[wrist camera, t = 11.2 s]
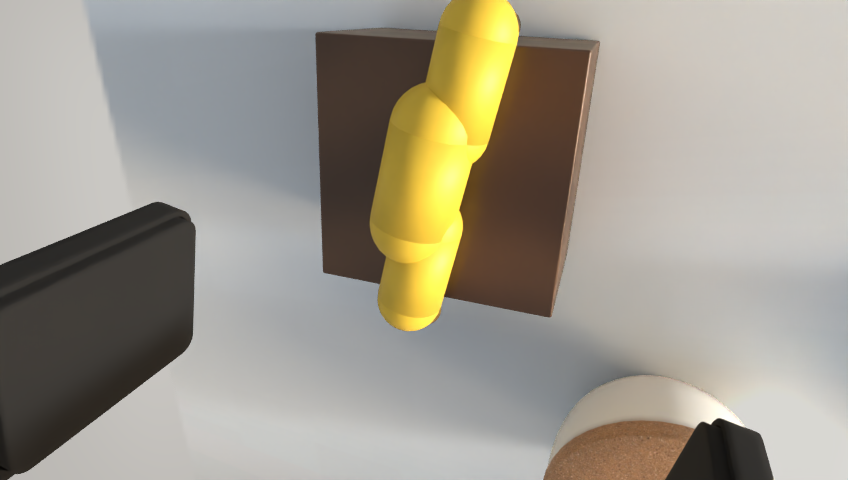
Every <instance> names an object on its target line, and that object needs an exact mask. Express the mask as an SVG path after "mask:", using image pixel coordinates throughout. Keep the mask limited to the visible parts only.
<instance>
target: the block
mask: <svg viewBox="0 0 848 480" xmlns="http://www.w3.org/2000/svg"><path fill="white" fill-rule="evenodd" d="M436 34H437V31H428V30H412V29H396V28H369V29H355V30H341V31H326V32H317V33H316V66H317V97H318V128H319V159H320V190H321V221H322V252H323V272H324V273H328V274H333V275H338V276H343V277H348V278H353V279H358V280H363V281H368V282H373V283H378V284H380V282H381V278H382V273H383V269H384V264H385V260H386V256H385V255H384V254H383V253H382V252H381V251H380V250H379V249H378V247H377V246H376V244H375V243H374V240H373V238H372V235H371V231H370V215H371V209H372V205H373V200H374V195H375V190H376V185H377V180H378V175H379V170H380V165H381V160H382V156H383V151H384V146H385V141H386V136H387V131H388V126H389V121H390V117H391V114H392V111H393V108H394V106H395V105H396V103H397V101H398V100H399V99H400V98H401V96H402V95H403V94H404V93H406V92H407V91H408V90H409V89H411V88H412V87H414V86H416V85H418V84H421V83H425V82H426V79H427V74H428V70H429V65H430V61H431V56H432V52H433V48H434V43H435V39H436ZM599 46H600V42H599V41H592V40H576V39H559V38H543V37H527V36H518V41H517V46H516V49H515V52H514V56H513V59H512V63H511V66H510V70H509V73H508V77H507V80H506V84H505V87H504V90H503V94H502V97H501V101H500V104H499V108H498V111H497V115H496V118H495V121H494V125H493V128H492V132H491V135H490V139H489V142H488V144H487V147H486V149H485V151H484V153H483V154H482V156H481V157H480V158H479V159H478V160H477V161H475V162H474V163H472V166H471V169H470V173H469V177H468V180H467V184H466V187H465V191H464V194H463V198H462V201H461V205H460V209H459V211H460V213H461V217H462V221H463V230H462V235H461V239H460V242H459V246H458V249H457V253H456V256H455V260H454V263H453V267H452V270H451V273H450V277H449V280H448V284H447V287H446V291H445V294H444V297H448V298H453V299H458V300H464V301H469V302H474V303H479V304H484V305H489V306H494V307H499V308H504V309H509V310H514V311H519V312H524V313H529V314H534V315H539V316H544V317H551V316H552V313H553V309H554V305H555V301H556V296H557V292H558V288H559V284H560V280H561V276H562V272H563V268H564V264H565V260H566V256H567V249H568V243H569V237H570V230H571V224H572V218H573V211H574V205H575V199H576V192H577V186H578V179H579V173H580V167H581V160H582V154H583V148H584V141H585V135H586V129H587V122H588V116H589V109H590V103H591V97H592V90H593V84H594V78H595V71H596V65H597V58H598V52H599Z"/></svg>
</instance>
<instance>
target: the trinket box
mask: <svg viewBox="0 0 848 480" xmlns="http://www.w3.org/2000/svg"><path fill="white" fill-rule="evenodd" d="M717 418H722V419H724V420H727V421H729V422H732V423H735V424H737V425H740V426H742V427H745V425H744V424H743V423H742V422H741V421H740V420H739V419H738V417H737V416H736V415H735V414H734V413H733V412H732V411H731V410H729V409H728V408H727V407H726V406H725V405H724V404H722V403H721V402H720V401H718V400H717V399H716V398H715V397H713V396H712V395H710V394H708V393H707V392H705V391H703V390H701V389H699V388H697V387H695V386H692V385H690V384H688V383H685V382H683V381H679V380H676V379H672V378H668V377H662V376H655V375H638V376H628V377H624V378H620V379H616V380H613V381H611V382H608V383H605V384H603V385H601V386H599V387H597V388H596V389H594V390H592V391H590V392H589V393H588V394H587V395H586V396H584V397H583V398H582V399H581V400H580V401H579V402H578V403H577V404H576V405H575V406H574V407H573V408H572V410H571V411H570V412H569V413H568V415H567V417H566V419H565V420H564V422H563V424H562V426H561V428H560V429H559V431H558V433H557V436H556V439H555V441H554V444H553V447H552V451H551V454H550V458H549V463H548V467H547V469H546V472H545V476H544V479H543V480H665V479H666V477H667V475H668V474H669V472H670V470H671V469H672V467H673V465H674V464H675V462H676V460H677V459H678V457H679V455H680V453H681V452H682V450H683V448H684V447H685V445H686V443H687V442H688V440H689V438H690V437H691V435H692V433H693V431H694V430H695V428H696V427H697V425H698V424H699V423H700V422H706V423H708V424H712V422H713V421H714V420H716V419H717ZM745 428H746V427H745Z"/></svg>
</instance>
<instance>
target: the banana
mask: <svg viewBox="0 0 848 480" xmlns="http://www.w3.org/2000/svg"><path fill="white" fill-rule="evenodd" d="M520 26H521V24H520V19H519V17H518V15H517V14H516V13H515V12H514V10H513V8H512V6H511V5H510V3H509V2H508V1H507V0H452V1H451V2H450V3H449V4H448V6H447V7H446V8H445V10H444V12H443V14H442V16H441V19H440V22H439V26H438V30H437V34H436V39H435V43H434V48H433V52H432V56H431V61H430V65H429V70H428V74H427V79H426V82H425V83H421V84H418V85H416V86H414V87H412V88H411V89H409V90H408V91H407V92H406V93H404V94H403V95H402V96H401V98H400V99H399V100H398V101H397V103H396V105H395V106H394V108H393V111H392V114H391V117H390V121H389V126H388V131H387V136H386V141H385V146H384V151H383V156H382V160H381V165H380V170H379V175H378V180H377V185H376V190H375V195H374V200H373V205H372V209H371V215H370V231H371V235H372V238H373V240H374V243H375V244H376V246H377V247H378V249H379V250H380V251H381V252H382V253H383V254H384V255H385V256H386V260H385V264H384V269H383V273H382V278H381V282H380V286H379V291H378V306H379V310H380V312H381V314H382V316H383V317H384V319H385V320H386V321H387V322H388V323H389V324H390V325H392V326H393V327H395V328H397V329H400V330H403V331H416V330H419V329H422V328H424V327H426V326H428V325H429V324H431V323H433V322H434V321H436V320H437V319H438V317H439V316H440V313H441V305H442V301H443V298H444V294H445V291H446V287H447V284H448V280H449V277H450V273H451V270H452V267H453V263H454V260H455V256H456V253H457V249H458V246H459V242H460V239H461V235H462V230H463V221H462V217H461V213H460V211H459V209H460V205H461V201H462V198H463V194H464V191H465V187H466V184H467V180H468V177H469V173H470V169H471V166H472V163H474V162H475V161H477V160H478V159H479V158H480V157H481V156H482V154H483V153H484V151H485V149H486V147H487V144H488V142H489V139H490V135H491V132H492V128H493V125H494V121H495V118H496V115H497V111H498V108H499V104H500V101H501V97H502V94H503V90H504V87H505V84H506V80H507V77H508V73H509V70H510V66H511V63H512V59H513V56H514V52H515V49H516V46H517V41H518V35H519V32H520Z"/></svg>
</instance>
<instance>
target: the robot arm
mask: <svg viewBox="0 0 848 480" xmlns="http://www.w3.org/2000/svg"><path fill="white" fill-rule="evenodd" d="M195 236H196V230H195V226H194V224H193V223H192V222H191V218H190V216H189V214H188V213H187V212H185V211H183V210H180V209H178V208H175V207H172V206H170V205H167V204H165V203H162V202H155V203H151V204H149V205H146V206H144V207H141V208H139V209H137V210H134V211H132V212H129V213H127V214H124V215H122V216H120V217H117V218H114V219H112V220H110V221H107V222H105V223H102V224H100V225H97V226H95V227H92V228H90V229H88V230H85V231H83V232H80V233H78V234H76V235H73V236H70V237H68V238H66V239H63V240H60V241H58V242H56V243H53V244H51V245H48V246H46V247H43V248H41V249H39V250H36V251H33V252H31V253H29V254H26V255H24V256H21V257H19V258H16V259H14V260H11V261H9V262H6V263H4V264H2V265H0V480H7V479H9V478H10V477H12V476H13V475H14V474H21V473H24V472H26V471H28V470H30V469H31V468H32V467H34V466H35V465H37V464H38V463H39V462H40V461H41V460H43V459H44V458H46V457H47V456H48V455H50V454H51V453H52V452H54V451H55V450H56V449H58V448H59V447H60V446H61V445H63V444H64V443H65V442H67V441H68V440H69V439H71V438H72V437H73V436H74V435H76V434H77V433H79V432H80V431H81V430H82V429H84V428H85V427H86V426H87V425H89V424H90V423H92V422H93V421H94V420H96V419H97V418H98V417H99V416H101V415H102V414H103V413H105V412H106V411H107V410H109V409H110V408H111V407H112V406H114V405H115V404H116V403H118V402H119V401H120V400H122V399H123V398H124V397H126V396H127V395H128V394H130V393H131V392H132V391H134V390H135V389H136V388H137V387H139V386H140V385H141V384H143V383H144V382H145V381H146V380H148V379H149V378H151V377H152V376H153V375H155V374H156V373H157V372H159V371H160V370H161V369H162V368H164V367H165V366H166V365H168V364H169V363H170V362H172V361H173V360H174V359H176V358H177V357H178V356H180V355H181V354H182V353H183V352H184V351H185V350H186V349H187V348H188V346H189V344H190V343H191V340H192V336H193V310H194V273H195ZM665 480H774V478H773V475H772V471H771V468H770V464H769V460H768V457H767V453H766V450H765V446H764V443H763V439H762V437H761V435H760V434H759V433H757V432H755V431H753V430H750V429H747V428H745V427H742V426H740V425H737V424H735V423H732V422H729V421H727V420H724V419H722V418H717V419H716V420H714V421H713V422H712V424H708V423H706V422H700V423H699V424H698V425H697V427H696V428H695V430H694V431H693V433H692V435H691V437H690V438H689V440H688V442H687V443H686V445H685V447H684V448H683V450H682V452H681V453H680V455H679V457H678V459H677V460H676V462H675V464H674V465H673V467H672V469H671V470H670V472H669V474H668V475H667V477H666V479H665Z"/></svg>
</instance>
